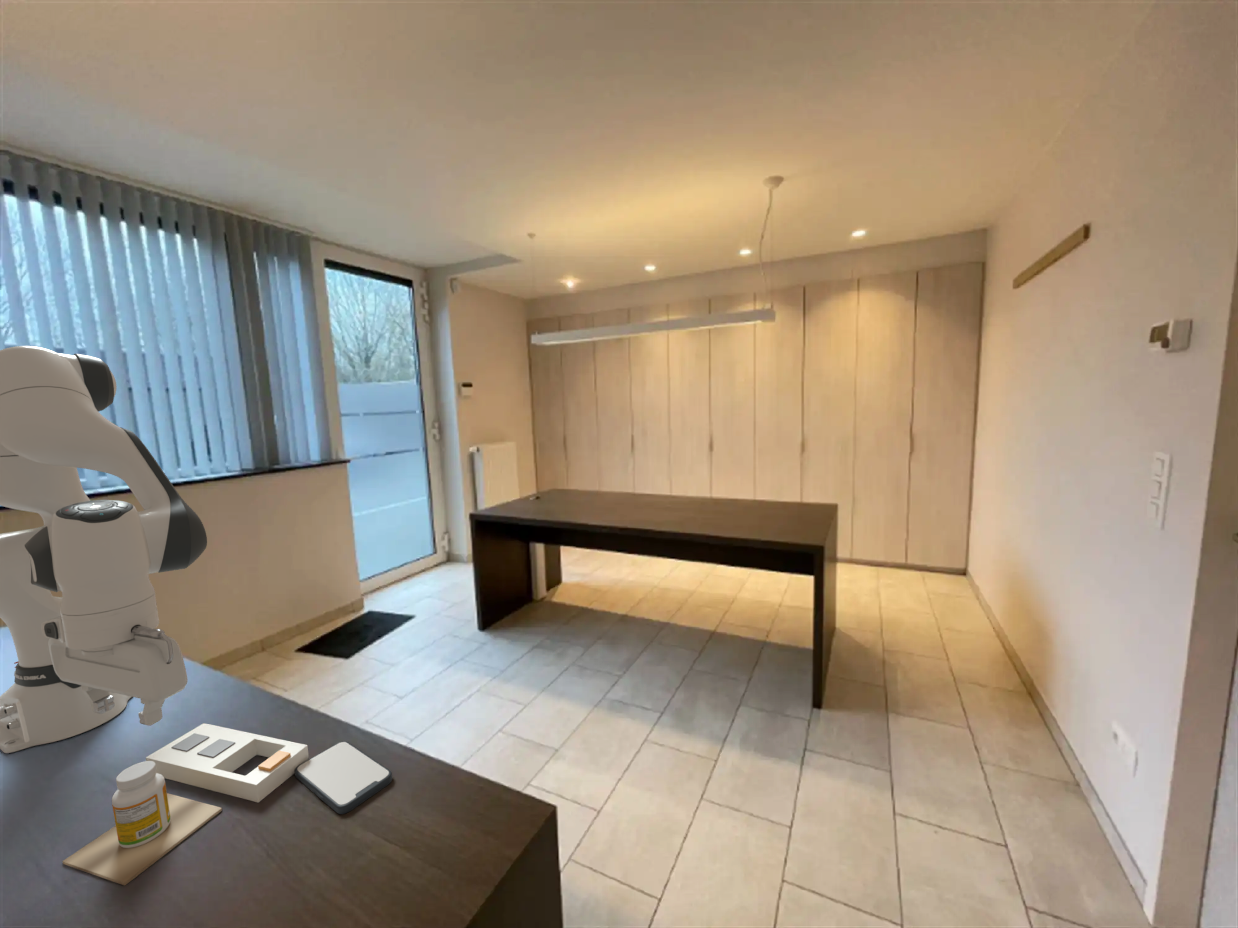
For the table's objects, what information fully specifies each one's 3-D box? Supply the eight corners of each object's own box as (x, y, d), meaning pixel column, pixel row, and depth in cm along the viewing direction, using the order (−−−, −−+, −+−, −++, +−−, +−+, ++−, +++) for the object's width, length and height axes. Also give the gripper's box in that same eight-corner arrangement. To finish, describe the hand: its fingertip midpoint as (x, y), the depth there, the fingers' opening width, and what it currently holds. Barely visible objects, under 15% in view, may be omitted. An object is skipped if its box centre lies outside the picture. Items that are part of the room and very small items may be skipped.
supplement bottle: (142, 818, 73) (132, 758, 71) (181, 814, 73) (172, 755, 72) (107, 851, 67) (96, 787, 66) (149, 847, 68) (139, 783, 66)
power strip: (148, 773, 82) (145, 754, 81) (205, 737, 91) (203, 720, 90) (258, 802, 76) (255, 781, 75) (309, 760, 84) (307, 742, 84)
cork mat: (62, 863, 66) (62, 860, 66) (165, 794, 77) (164, 792, 77) (124, 885, 63) (124, 882, 63) (222, 810, 74) (221, 807, 74)
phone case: (291, 777, 81) (341, 819, 72) (290, 768, 81) (340, 810, 72) (345, 746, 89) (396, 781, 80) (344, 737, 89) (395, 772, 80)
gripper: (195, 620, 66) (207, 714, 68) (92, 603, 72) (106, 691, 73) (139, 643, 60) (154, 745, 62) (31, 623, 66) (48, 718, 67)
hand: (127, 716), depth 68 cm, fingers open, 8 cm apart
